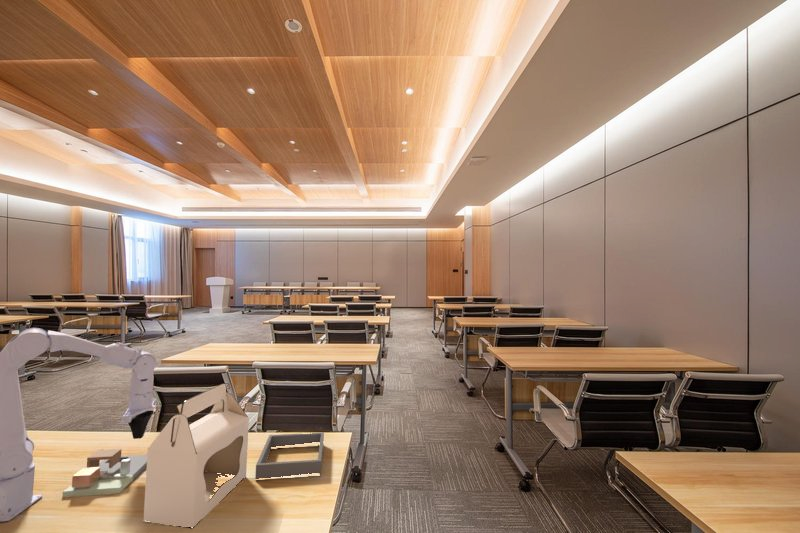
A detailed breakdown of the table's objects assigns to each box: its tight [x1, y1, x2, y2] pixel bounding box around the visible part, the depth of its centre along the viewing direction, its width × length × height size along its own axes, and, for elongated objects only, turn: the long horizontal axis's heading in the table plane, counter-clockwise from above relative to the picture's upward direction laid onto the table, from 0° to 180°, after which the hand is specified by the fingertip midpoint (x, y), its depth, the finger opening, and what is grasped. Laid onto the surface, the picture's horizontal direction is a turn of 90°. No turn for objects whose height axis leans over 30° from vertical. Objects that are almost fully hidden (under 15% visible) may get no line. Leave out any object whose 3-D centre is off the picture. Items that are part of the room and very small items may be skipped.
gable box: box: [142, 383, 250, 528], centre depth 92 cm, size 22×13×28 cm, turn 172°
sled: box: [71, 459, 131, 489], centre depth 95 cm, size 8×10×4 cm
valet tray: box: [255, 431, 325, 479], centre depth 110 cm, size 20×19×4 cm
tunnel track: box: [62, 448, 147, 498], centre depth 100 cm, size 18×13×6 cm
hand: (138, 437), depth 103 cm, fingers closed
